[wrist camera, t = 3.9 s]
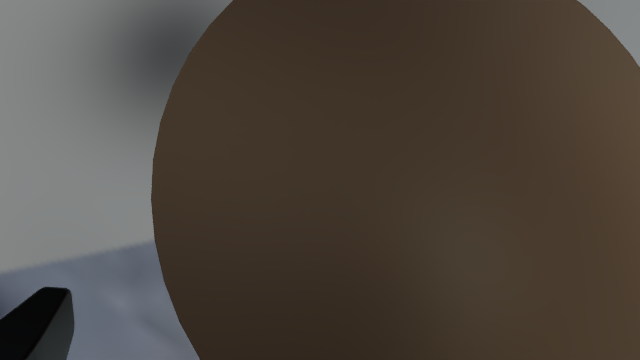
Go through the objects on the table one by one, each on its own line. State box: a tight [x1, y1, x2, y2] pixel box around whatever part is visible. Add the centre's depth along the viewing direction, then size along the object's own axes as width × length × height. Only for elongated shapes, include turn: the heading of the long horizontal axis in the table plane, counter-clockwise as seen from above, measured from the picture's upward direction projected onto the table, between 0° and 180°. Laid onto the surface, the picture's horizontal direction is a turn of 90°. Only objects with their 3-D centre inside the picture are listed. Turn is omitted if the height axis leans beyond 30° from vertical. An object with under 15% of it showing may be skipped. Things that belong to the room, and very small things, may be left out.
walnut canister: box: [151, 0, 640, 360], centre depth 12 cm, size 5×5×14 cm
